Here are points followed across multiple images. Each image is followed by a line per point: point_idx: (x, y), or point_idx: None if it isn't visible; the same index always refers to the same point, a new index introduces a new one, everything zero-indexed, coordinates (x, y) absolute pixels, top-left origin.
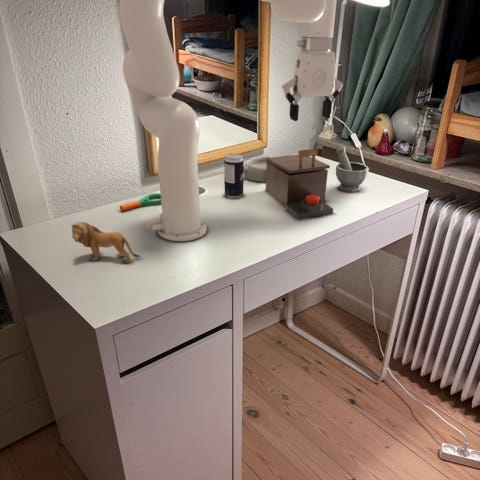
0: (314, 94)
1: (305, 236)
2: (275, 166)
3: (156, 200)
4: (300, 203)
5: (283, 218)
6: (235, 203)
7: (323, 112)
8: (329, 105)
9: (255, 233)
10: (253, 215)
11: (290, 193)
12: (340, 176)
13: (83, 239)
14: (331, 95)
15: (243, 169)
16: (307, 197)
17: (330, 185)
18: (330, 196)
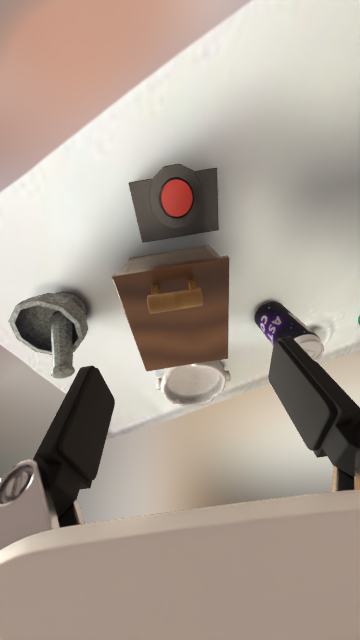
0: (261, 538)
1: (239, 40)
2: None
3: None
4: (202, 202)
5: (237, 188)
6: (280, 283)
7: (106, 410)
8: (62, 431)
9: (331, 111)
10: (281, 221)
11: (207, 252)
12: (81, 312)
13: None
14: (6, 533)
15: (276, 333)
16: (190, 199)
17: (100, 326)
18: (111, 280)
